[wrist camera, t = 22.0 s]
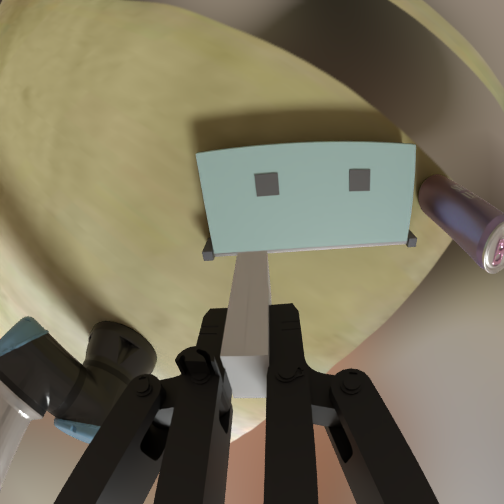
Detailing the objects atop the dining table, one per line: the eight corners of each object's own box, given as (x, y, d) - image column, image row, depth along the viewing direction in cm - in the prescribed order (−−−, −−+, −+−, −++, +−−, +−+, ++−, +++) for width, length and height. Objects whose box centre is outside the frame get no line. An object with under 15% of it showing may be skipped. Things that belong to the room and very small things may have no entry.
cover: (216, 254, 33) (214, 258, 33) (197, 152, 27) (195, 153, 26) (403, 242, 31) (406, 245, 30) (412, 143, 24) (416, 145, 24)
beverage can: (413, 213, 31) (475, 277, 18) (419, 170, 28) (493, 218, 15) (445, 215, 31) (508, 273, 18) (452, 175, 28) (525, 221, 15)
